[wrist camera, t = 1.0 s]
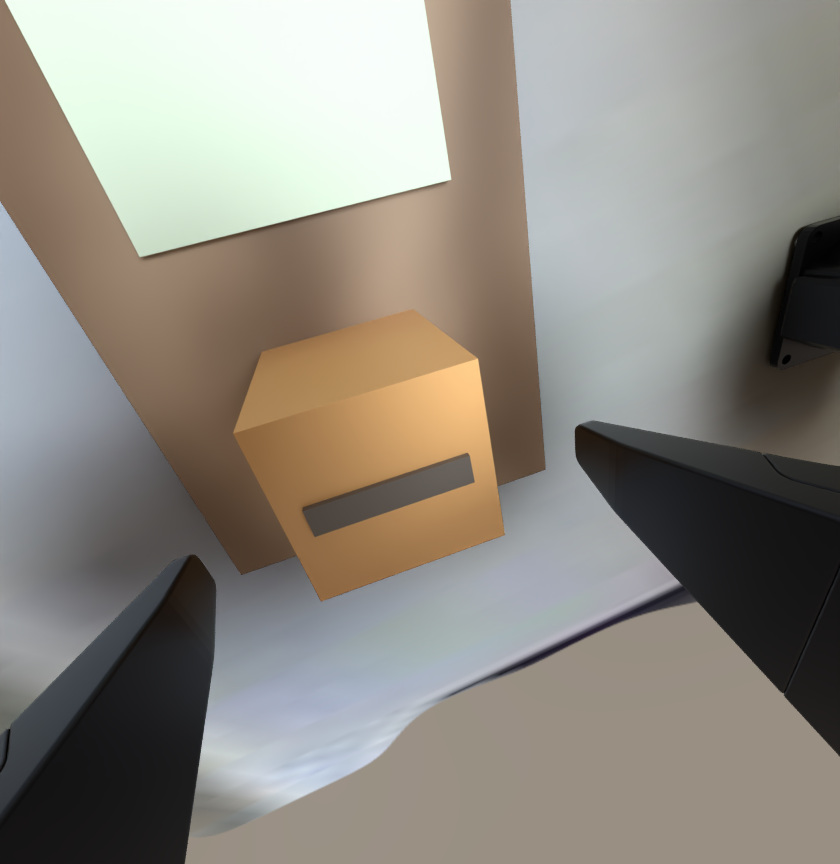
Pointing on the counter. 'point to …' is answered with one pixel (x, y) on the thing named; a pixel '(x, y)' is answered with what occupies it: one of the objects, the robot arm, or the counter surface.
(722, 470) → the robot arm
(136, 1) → the pad
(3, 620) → the counter surface
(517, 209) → the board
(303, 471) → the box
